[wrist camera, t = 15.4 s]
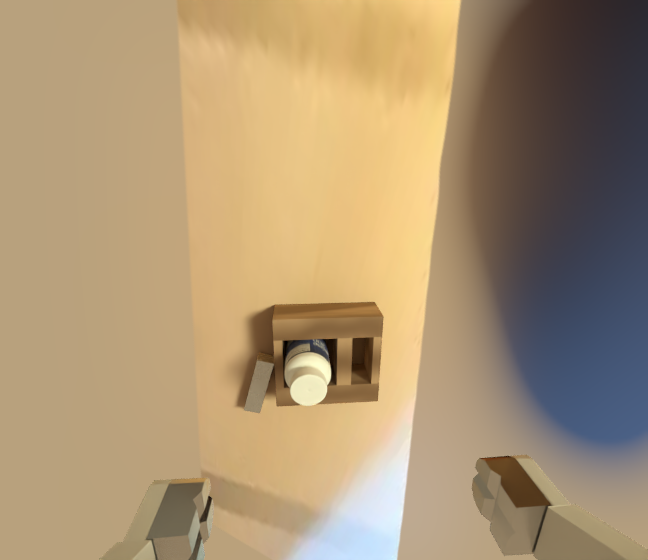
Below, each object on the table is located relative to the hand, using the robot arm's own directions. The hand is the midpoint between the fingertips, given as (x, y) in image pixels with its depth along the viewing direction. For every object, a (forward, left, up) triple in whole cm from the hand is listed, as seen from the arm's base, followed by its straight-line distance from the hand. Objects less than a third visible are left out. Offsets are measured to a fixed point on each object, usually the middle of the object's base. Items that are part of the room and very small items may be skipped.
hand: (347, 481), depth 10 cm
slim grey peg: (+18, -7, -31) cm, 37 cm away
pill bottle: (+13, 0, -31) cm, 34 cm away
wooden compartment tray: (+13, +2, -31) cm, 34 cm away
